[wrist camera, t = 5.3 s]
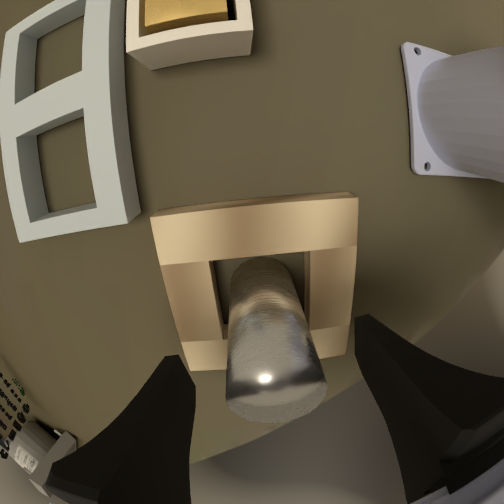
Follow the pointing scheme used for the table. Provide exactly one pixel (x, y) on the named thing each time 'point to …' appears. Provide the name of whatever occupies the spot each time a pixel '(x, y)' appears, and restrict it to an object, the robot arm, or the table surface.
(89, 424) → the table surface
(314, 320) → the wooden square frame
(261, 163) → the table surface
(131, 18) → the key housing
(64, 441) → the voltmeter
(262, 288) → the grey rounded cylinder
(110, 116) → the frame
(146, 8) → the key
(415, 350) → the robot arm
